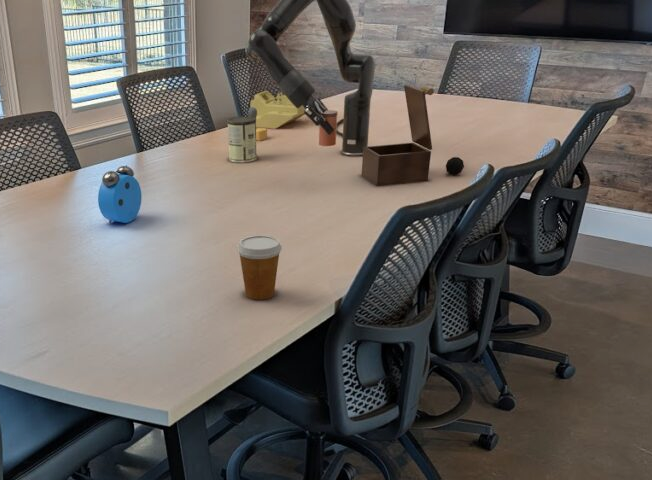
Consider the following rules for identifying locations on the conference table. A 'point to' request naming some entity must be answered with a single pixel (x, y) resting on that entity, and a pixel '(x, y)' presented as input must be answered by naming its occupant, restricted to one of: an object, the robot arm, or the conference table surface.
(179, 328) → the conference table surface
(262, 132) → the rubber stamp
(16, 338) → the conference table surface
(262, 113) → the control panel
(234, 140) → the coffee can
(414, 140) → the lid
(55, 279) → the conference table surface
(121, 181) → the alarm clock
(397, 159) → the chest
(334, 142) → the canister
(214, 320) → the conference table surface
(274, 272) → the disposable coffee cup
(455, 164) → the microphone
